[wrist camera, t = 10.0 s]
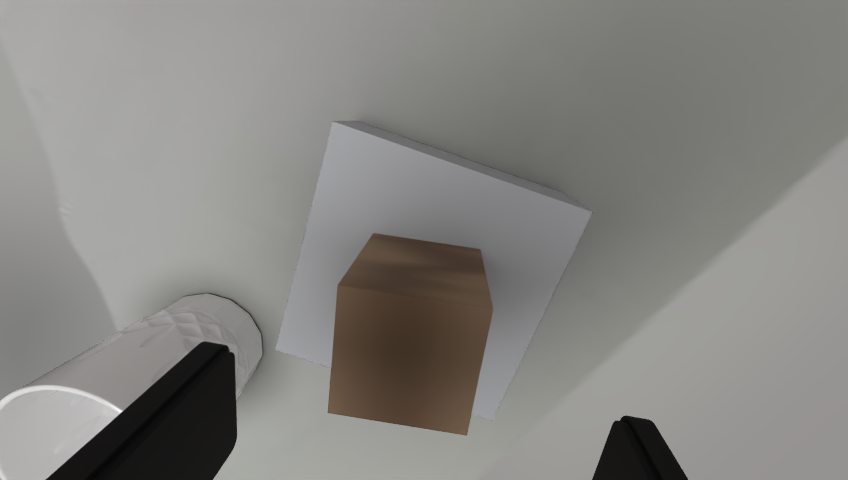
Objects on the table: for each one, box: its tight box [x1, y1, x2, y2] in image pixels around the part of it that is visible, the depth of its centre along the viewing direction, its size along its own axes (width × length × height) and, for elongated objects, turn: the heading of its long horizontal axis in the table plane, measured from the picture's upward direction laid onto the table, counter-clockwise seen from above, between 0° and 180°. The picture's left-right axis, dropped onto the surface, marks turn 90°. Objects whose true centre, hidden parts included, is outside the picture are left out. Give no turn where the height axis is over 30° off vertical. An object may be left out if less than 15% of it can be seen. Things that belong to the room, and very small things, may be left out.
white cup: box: [0, 293, 263, 480], centre depth 21 cm, size 8×8×10 cm
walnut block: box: [328, 233, 493, 435], centre depth 16 cm, size 5×5×6 cm
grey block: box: [275, 121, 593, 421], centre depth 21 cm, size 12×12×5 cm
